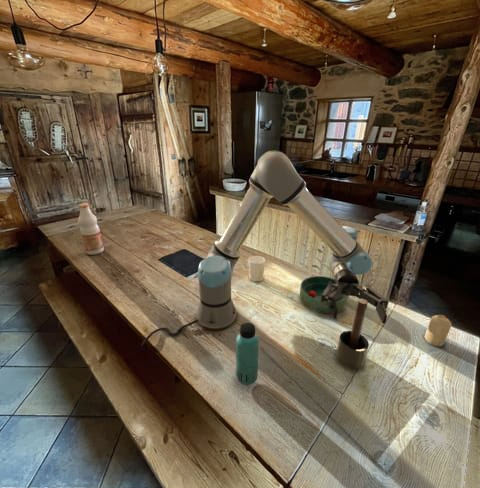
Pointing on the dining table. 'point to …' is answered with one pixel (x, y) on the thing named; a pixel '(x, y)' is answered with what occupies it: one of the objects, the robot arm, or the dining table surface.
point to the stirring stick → (358, 323)
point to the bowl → (319, 294)
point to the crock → (351, 351)
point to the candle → (438, 330)
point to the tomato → (312, 294)
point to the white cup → (256, 268)
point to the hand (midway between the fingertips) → (360, 317)
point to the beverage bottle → (247, 354)
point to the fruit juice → (90, 230)
